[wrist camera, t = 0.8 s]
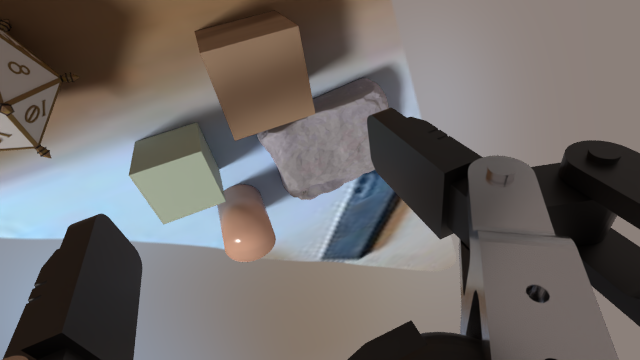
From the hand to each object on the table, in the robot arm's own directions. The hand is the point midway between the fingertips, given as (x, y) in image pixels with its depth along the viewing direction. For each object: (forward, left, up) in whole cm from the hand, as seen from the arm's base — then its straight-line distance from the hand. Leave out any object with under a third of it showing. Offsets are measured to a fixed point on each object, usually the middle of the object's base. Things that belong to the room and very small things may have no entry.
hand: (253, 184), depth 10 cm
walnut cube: (+2, +3, -18) cm, 18 cm away
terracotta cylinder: (+15, -2, -18) cm, 24 cm away
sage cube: (+8, -5, -18) cm, 21 cm away
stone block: (+11, +8, -19) cm, 23 cm away
